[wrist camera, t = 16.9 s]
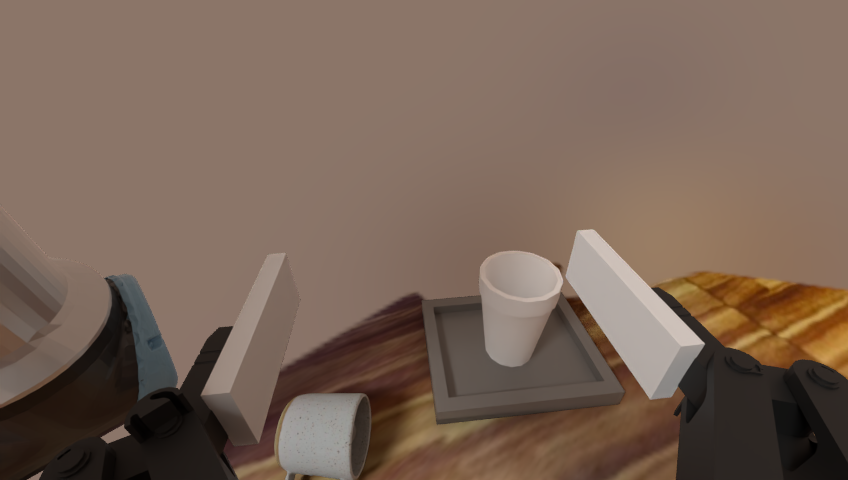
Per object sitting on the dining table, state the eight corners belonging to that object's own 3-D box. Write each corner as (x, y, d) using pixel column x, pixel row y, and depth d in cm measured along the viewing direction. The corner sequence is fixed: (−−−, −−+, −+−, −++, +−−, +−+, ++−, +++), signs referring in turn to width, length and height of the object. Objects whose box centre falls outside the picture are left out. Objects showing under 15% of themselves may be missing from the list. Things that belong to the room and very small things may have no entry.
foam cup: (460, 348, 47) (463, 275, 40) (498, 312, 53) (507, 242, 46) (520, 391, 42) (537, 315, 35) (556, 346, 47) (577, 272, 40)
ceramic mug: (307, 414, 41) (291, 376, 37) (374, 418, 41) (366, 379, 36) (268, 525, 32) (241, 492, 28) (354, 531, 32) (340, 498, 28)
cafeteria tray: (436, 424, 40) (436, 412, 38) (422, 312, 55) (421, 300, 53) (618, 404, 41) (625, 391, 40) (556, 300, 56) (559, 288, 55)
